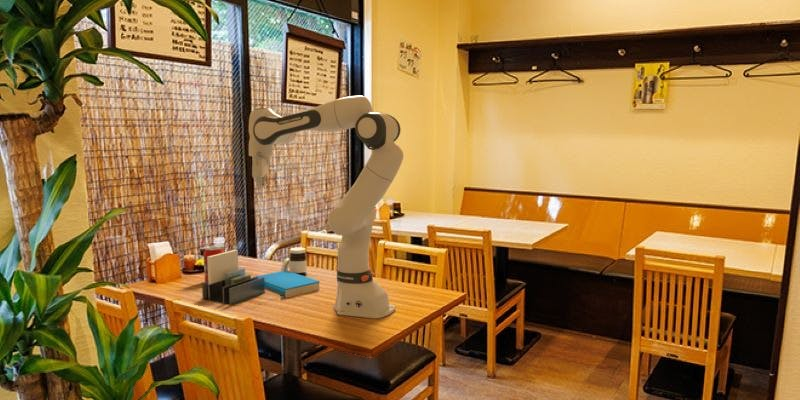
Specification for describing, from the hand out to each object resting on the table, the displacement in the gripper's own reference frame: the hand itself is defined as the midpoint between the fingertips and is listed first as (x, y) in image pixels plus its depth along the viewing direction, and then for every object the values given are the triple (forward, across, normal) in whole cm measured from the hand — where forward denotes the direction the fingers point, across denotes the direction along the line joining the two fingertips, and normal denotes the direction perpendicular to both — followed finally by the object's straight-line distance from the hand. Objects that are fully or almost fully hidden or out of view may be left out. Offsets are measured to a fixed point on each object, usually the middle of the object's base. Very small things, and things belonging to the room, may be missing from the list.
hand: (260, 187), depth 208 cm
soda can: (+44, +21, +22) cm, 53 cm away
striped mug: (+43, +33, -10) cm, 55 cm away
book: (+43, +11, -9) cm, 45 cm away
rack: (+43, -4, +10) cm, 44 cm away
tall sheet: (+42, -1, +14) cm, 44 cm away
